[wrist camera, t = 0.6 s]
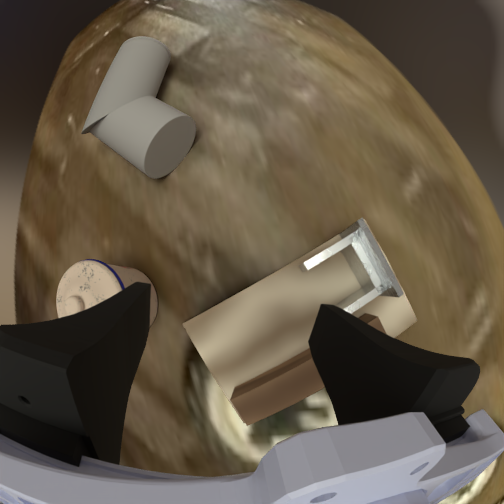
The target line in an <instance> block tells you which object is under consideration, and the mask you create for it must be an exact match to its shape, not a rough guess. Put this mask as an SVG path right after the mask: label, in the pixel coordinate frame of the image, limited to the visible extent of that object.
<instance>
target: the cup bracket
mask: <svg viewBox="0 0 504 504" xmlns="http://www.w3.org/2000/svg"><path fill="white" fill-rule="evenodd" d="M339 235H340V237H341V239H342V240H341V241H339V242H337V243H336V244H334V245H332V246H331V247H329V248H327V249H326V250H324V251H322V252H321V253H319V254H317V255H316V256H314V257H312V258H311V259H309V260H307V261H306V262H304V263H302V264H301V265H299V267H300V269H301V271H302V272H304V271H307V270H309V269H310V268H312V267H314V266H315V265H317V264H319V263H320V262H322V261H324V260H325V259H327V258H329V257H330V256H332V255H334V254H335V253H337V252H339V251H340V250H341V252H342V254H343V255H344V257H345V259H346V261H347V262H348V264H349V266H350V268H351V270H352V271H353V273H354V275H355V277H356V279H357V280H358V282H359V284H360V286H361V288H360V289H359V290H357V291H356V292H354V293H353V294H351V295H350V296H348V297H347V298H345V299H343V300H342V301H340V302H339V303H337V304H335V306H337V307H340V308H342V309H343V310H345V311H347V312H349V313H350V314H352V313H353V312H355V311H356V310H358V309H359V308H361V307H362V306H364V305H365V304H367V303H368V302H370V301H371V300H373V299H374V298H376V297H377V296H388V297H400V296H402V295H403V294H404V293H403V291H402V289H401V287H400V285H399V283H398V281H397V279H396V277H395V275H394V273H393V271H392V269H391V268H390V266H389V264H388V262H387V260H386V258H385V256H384V254H383V253H382V251H381V249H380V247H379V245H378V244H377V242H376V240H375V238H374V237H373V235H372V233H371V231H370V230H369V228H368V226H367V225H366V223H365V221H364V220H363V218H361V219H359V220H358V221H356V222H355V223H354V224H352V225H351V226H350V227H348V228H347V229H346V230H344V231H343V232H342V233H340V234H339Z"/></svg>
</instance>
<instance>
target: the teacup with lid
mask: <svg viewBox="0 0 504 504" xmlns="http://www.w3.org/2000/svg"><path fill="white" fill-rule="evenodd" d="M135 282H143V283H150V284H151V299H150V326H151V325H152V323H153V322H154V320H155V317H156V314H157V308H158V301H157V295H156V291H155V289H154V286H153V284H152V283H151V281H150V280H149V278H148V277H147V276H146V275H145V274H143V273H142V272H141V271H139V270H137V269H134V268H130V267H124V266H117V265H110V264H106V263H104V262H101V261H99V260H94V259H87V260H83V261H80V262H78V263H76V264H74V265H73V266H71V267H70V268H69V269H68V270H67V271H66V273H65V274H64V275H63V277H62V279H61V281H60V284H59V287H58V291H57V299H56V303H57V312H58V316H59V318H61V317H65V316H69V315H72V314H75V313H78V312H80V311H83V310H86V309H88V308H90V307H92V306H95V305H96V304H98V303H100V302H102V301H104V300H106V299H108V298H110V297H112V296H113V295H115V294H117V293H118V292H120V291H122V290H123V289H125V288H126V287H128V286H130V285H131V284H133V283H135Z"/></svg>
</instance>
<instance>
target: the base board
mask: <svg viewBox="0 0 504 504" xmlns="http://www.w3.org/2000/svg"><path fill="white" fill-rule="evenodd" d="M363 220H364V221H365V219H363ZM365 223H366V221H365ZM366 225H367V226H368V224H367V223H366ZM368 228H369V226H368ZM369 230H370V231H371V229H370V228H369ZM371 233H372V231H371ZM372 235H373V233H372ZM373 237H374V238H375V236H374V235H373ZM341 240H342V239H341V237H340V235H337V236H335V237H334V238H332V239H331V240H329V241H327V242H325V243H324V244H322V245H320V246H319V247H317V248H315V249H314V250H312V251H310V252H309V253H307V254H305V255H304V256H302V257H300V258H298V259H297V260H295V261H293V262H292V263H290V264H288V265H287V266H285V267H283V268H281V269H280V270H278V271H276V272H274V273H273V274H271V275H269V276H267V277H266V278H264V279H262V280H260V281H259V282H257V283H255V284H253V285H252V286H250V287H248V288H246V289H245V290H243V291H241V292H239V293H238V294H236V295H234V296H232V297H230V298H229V299H227V300H225V301H223V302H221V303H220V304H218V305H216V306H214V307H212V308H211V309H209V310H207V311H205V312H203V313H202V314H200V315H198V316H196V317H194V318H192V319H191V320H189V321H187V322H185V323H183V326H184V328H185V329H186V331H187V333H188V335H189V337H190V338H191V340H192V342H193V344H194V345H195V347H196V349H197V350H198V352H199V354H200V355H201V357H202V359H203V360H204V362H205V364H206V365H207V367H208V369H209V370H210V372H211V374H212V375H213V377H214V378H215V380H216V382H217V383H218V385H219V386H220V388H221V389H222V391H223V393H224V394H225V396H226V397H227V399H228V400H229V402H230V403H231V405H232V406H233V408H234V409H235V411H236V412H237V414H238V415H239V417H240V418H241V420H242V421H243V422H244V420H243V419H242V417H241V416H240V414H239V413H238V411H237V410H236V408H235V407H234V405H233V404H232V402H231V401H230V399H231V396H232V393H233V390H234V387H236V386H238V385H240V384H242V383H244V382H246V381H248V380H250V379H252V378H254V377H256V376H258V375H260V374H262V373H264V372H266V371H268V370H270V369H272V368H274V367H276V366H278V365H280V364H281V363H283V362H285V361H287V360H289V359H291V358H292V357H294V356H296V355H298V354H300V353H301V352H303V351H305V350H307V349H308V348H310V347H309V343H308V340H309V338H310V335H311V332H312V329H313V326H314V323H315V320H316V317H317V314H318V311H319V308H320V305H321V304H331V305H335V304H337V303H339V302H340V301H342V300H343V299H345V298H347V297H348V296H350V295H351V294H353V293H354V292H356V291H357V290H359V289H360V288H361V286H360V284H359V282H358V280H357V279H356V277H355V275H354V273H353V271H352V270H351V268H350V266H349V264H348V262H347V261H346V259H345V257H344V255H343V254H342V252H341V250H340V251H339V252H337V253H335V254H334V255H332V256H330V257H329V258H327V259H325V260H324V261H322V262H320V263H319V264H317V265H315V266H314V267H312V268H310V269H309V270H307V271H304V272H302V271H301V269H300V267H299V265H301V264H302V263H304V262H306V261H307V260H309V259H311V258H312V257H314V256H316V255H317V254H319V253H321V252H322V251H324V250H326V249H327V248H329V247H331V246H332V245H334V244H336V243H337V242H339V241H341ZM375 240H376V238H375ZM376 242H377V240H376ZM377 244H378V245H379V243H378V242H377ZM379 247H380V245H379ZM380 249H381V247H380ZM381 251H382V249H381ZM382 253H383V254H384V252H383V251H382ZM384 256H385V254H384ZM385 258H386V256H385ZM386 260H387V258H386ZM387 262H388V260H387ZM388 264H389V266H390V268H391V269H392V267H391V265H390V263H389V262H388ZM392 271H393V269H392ZM393 273H394V271H393ZM394 275H395V273H394ZM395 277H396V275H395ZM396 279H397V277H396ZM397 281H398V279H397ZM398 283H399V281H398ZM399 285H400V283H399ZM400 287H401V285H400ZM401 289H402V287H401ZM402 291H403V289H402ZM403 293H404V291H403ZM365 313H367V314H371V315H374V316H378V317H379V319H380V321H381V323H382V325H383V327H384V329H385V332H386V334H387V335H389V336H391V337H393V338H395V337H396V336H398V335H399V334H400V333H402V332H403V331H404V330H406V329H407V328H408V327H410V326H411V325H412V324H413V323H415V322H416V321H417V318H416V316H415V314H414V312H413V310H412V307H411V305H410V303H409V301H408V299H407V297H406V295H405V293H404V294H403V295H402V296H400V297H388V296H377V297H376V298H374V299H373V300H371V301H370V302H368V303H367V304H365V305H364V306H362V307H361V308H359V309H358V310H356V311H355V312H353V313H352V315H354V316H355V317H357V318H359V317H360V316H362V315H363V314H365ZM244 423H245V422H244Z"/></svg>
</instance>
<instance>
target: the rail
mask: <svg viewBox="0 0 504 504" xmlns="http://www.w3.org/2000/svg"><path fill="white" fill-rule="evenodd" d="M359 319H360V320H362V321H364V322H365V323H367V324H369V325H370V326H372V327H374V328H376V329H377V330H379V331H381V332H383V333H385V334H386V332H385V329H384V327H383V325H382V323H381V321H380V319H379V317H378V316H374V315H371V314H367V313H365V314H363V315H362V316H360V317H359ZM324 387H325V386H324V384H323V381H322V379H321V377H320V375H319V373H318V370H317V368H316V366H315V364H314V361H313V358H312V355H311V351H310V348H308V349H307V350H305V351H303V352H301V353H300V354H298V355H296V356H294V357H292V358H291V359H289V360H287V361H285V362H283V363H281V364H280V365H278V366H276V367H274V368H272V369H270V370H268V371H266V372H264V373H262V374H260V375H258V376H256V377H254V378H252V379H250V380H248V381H246V382H244V383H242V384H240V385H238V386H236V387H234V390H233V393H232V396H231V399H230V401H231V402H232V404H233V405H234V407H235V408H236V410H237V411H238V413H239V414H240V416H241V417H242V419H243V420H244V422H245V423H246V425H247V426H248V425H250V424H252V423H255V422H257V421H259V420H262V419H264V418H266V417H268V416H270V415H272V414H274V413H277V412H279V411H281V410H283V409H285V408H287V407H289V406H291V405H293V404H295V403H297V402H299V401H301V400H302V399H304V398H306V397H308V396H310V395H312V394H314V393H315V392H317V391H319V390H321V389H323V388H324Z"/></svg>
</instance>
